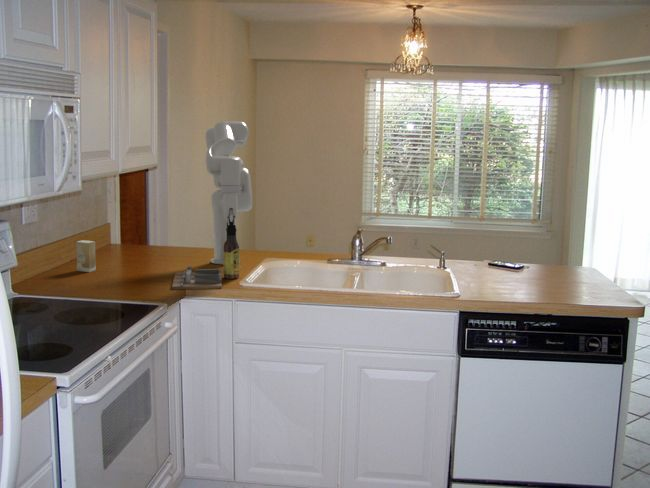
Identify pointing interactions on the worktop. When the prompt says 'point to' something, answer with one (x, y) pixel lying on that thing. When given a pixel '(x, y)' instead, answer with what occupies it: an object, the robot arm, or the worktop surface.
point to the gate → (188, 274)
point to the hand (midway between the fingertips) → (231, 233)
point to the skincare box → (86, 256)
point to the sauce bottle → (231, 258)
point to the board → (198, 279)
